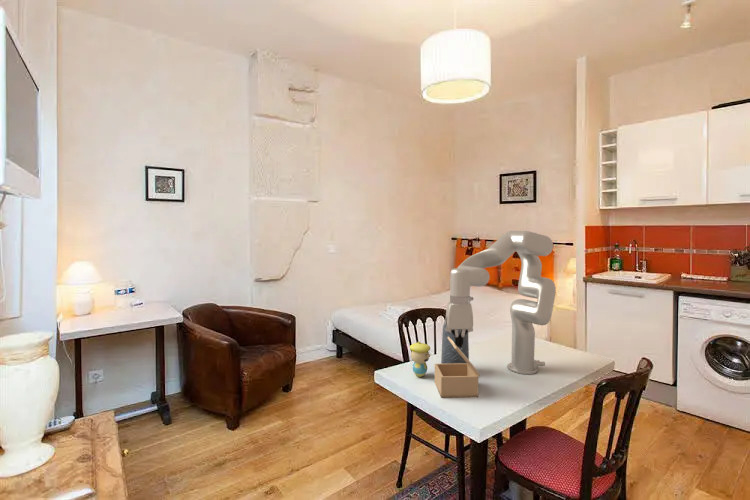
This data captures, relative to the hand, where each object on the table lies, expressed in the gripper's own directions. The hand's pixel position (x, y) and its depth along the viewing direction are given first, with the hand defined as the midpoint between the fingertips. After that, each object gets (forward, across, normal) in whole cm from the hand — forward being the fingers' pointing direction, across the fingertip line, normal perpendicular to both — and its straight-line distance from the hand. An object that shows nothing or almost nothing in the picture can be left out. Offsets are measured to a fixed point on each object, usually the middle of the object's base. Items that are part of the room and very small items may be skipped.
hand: (458, 346), depth 153 cm
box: (+18, +1, 0) cm, 18 cm away
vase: (+18, -3, -18) cm, 26 cm away
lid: (+4, -1, 0) cm, 4 cm away
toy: (+18, +13, -14) cm, 26 cm away
